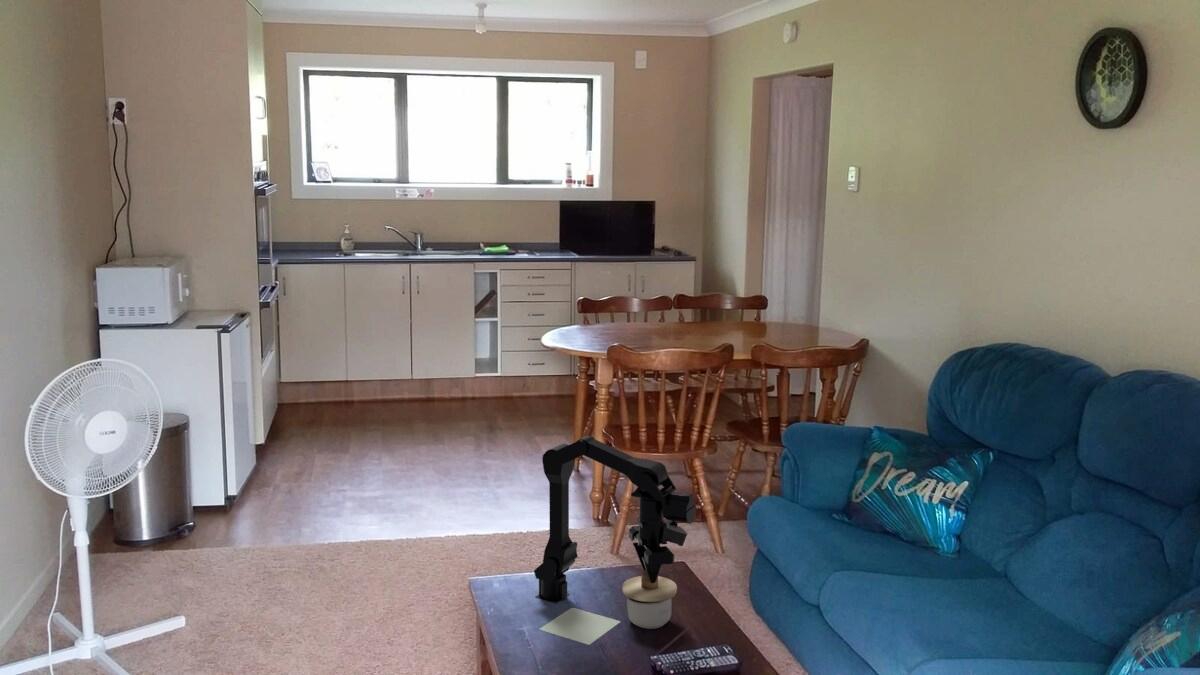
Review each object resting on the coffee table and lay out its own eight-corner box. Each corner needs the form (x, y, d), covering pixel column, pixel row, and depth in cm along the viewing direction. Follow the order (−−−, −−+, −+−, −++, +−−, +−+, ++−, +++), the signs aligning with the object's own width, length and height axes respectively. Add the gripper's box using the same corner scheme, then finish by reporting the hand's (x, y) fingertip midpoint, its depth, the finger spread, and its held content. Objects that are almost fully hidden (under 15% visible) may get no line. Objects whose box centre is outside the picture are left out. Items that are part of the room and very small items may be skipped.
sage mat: (538, 631, 229) (538, 629, 229) (572, 609, 241) (572, 607, 241) (589, 647, 222) (589, 644, 222) (620, 623, 234) (620, 621, 233)
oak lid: (612, 594, 232) (612, 576, 231) (639, 575, 243) (639, 558, 242) (660, 606, 225) (660, 588, 224) (686, 586, 236) (686, 568, 235)
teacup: (668, 636, 227) (668, 604, 226) (622, 632, 229) (622, 599, 228) (675, 611, 241) (676, 580, 240) (632, 607, 243) (632, 576, 242)
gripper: (696, 527, 224) (694, 591, 226) (672, 501, 242) (670, 561, 244) (649, 530, 221) (648, 596, 224) (628, 503, 239) (627, 564, 242)
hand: (650, 578), depth 233 cm, fingers open, 5 cm apart
